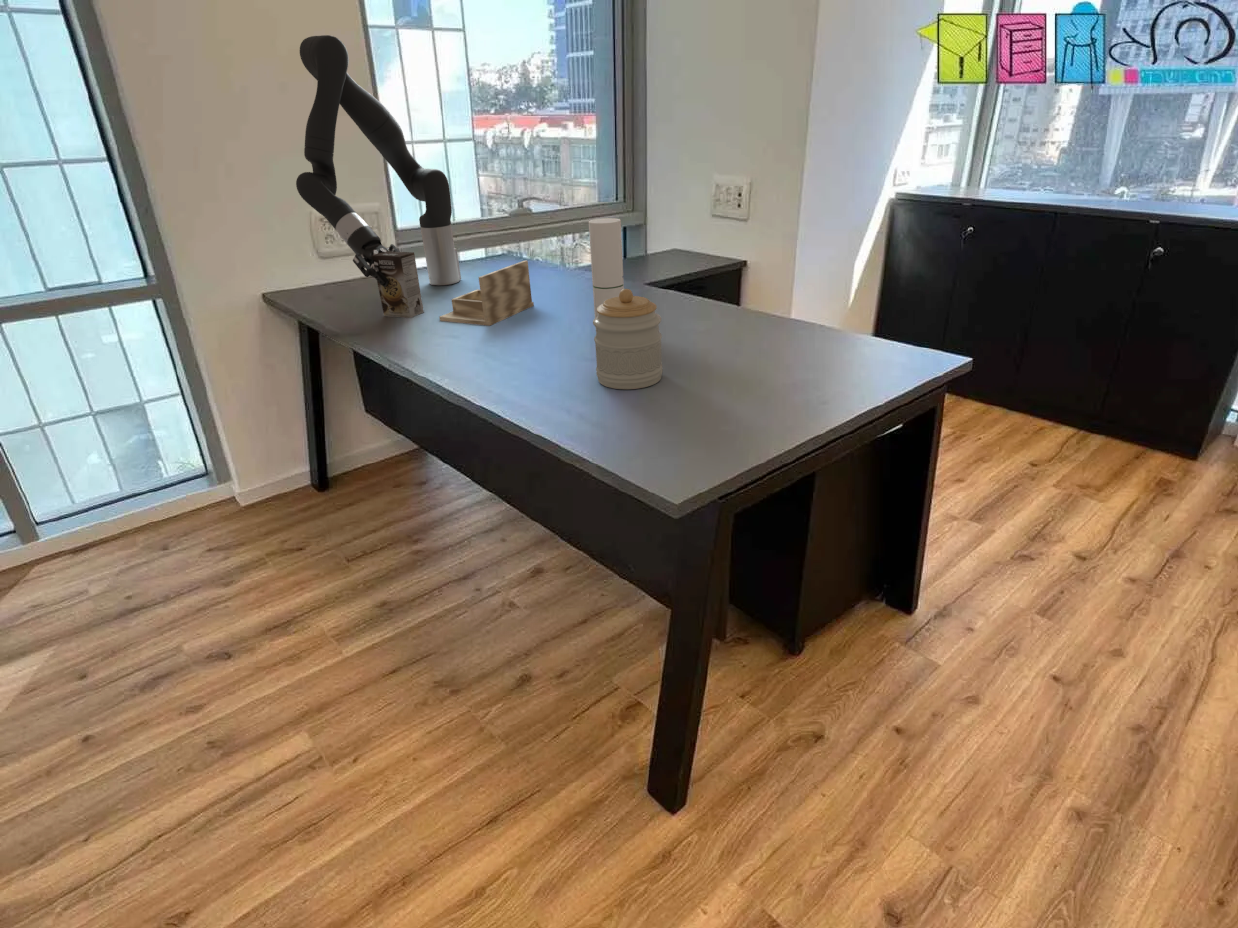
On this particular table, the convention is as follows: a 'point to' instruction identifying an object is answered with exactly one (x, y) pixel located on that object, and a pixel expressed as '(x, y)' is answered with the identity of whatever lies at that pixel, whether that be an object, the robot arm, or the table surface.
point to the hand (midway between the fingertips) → (399, 281)
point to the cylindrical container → (606, 259)
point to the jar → (628, 342)
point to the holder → (494, 297)
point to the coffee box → (399, 284)
